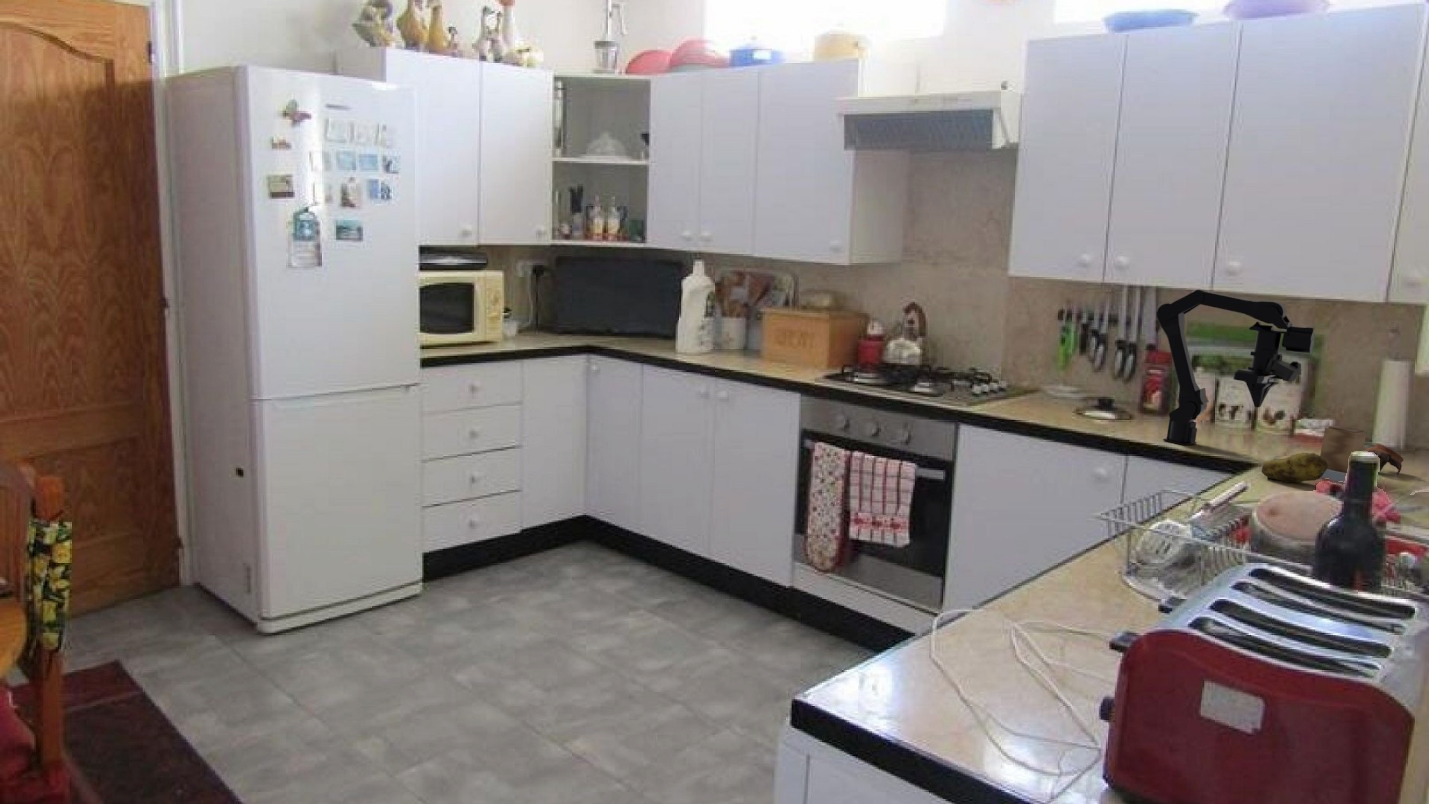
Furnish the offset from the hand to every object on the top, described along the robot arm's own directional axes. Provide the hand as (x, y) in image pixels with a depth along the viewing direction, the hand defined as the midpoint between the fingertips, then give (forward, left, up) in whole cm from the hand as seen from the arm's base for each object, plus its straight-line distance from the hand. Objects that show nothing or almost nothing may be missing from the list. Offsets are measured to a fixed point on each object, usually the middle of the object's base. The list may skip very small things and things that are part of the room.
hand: (1257, 407), depth 273 cm
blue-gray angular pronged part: (+20, -5, -13) cm, 24 cm away
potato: (+22, -23, -13) cm, 34 cm away
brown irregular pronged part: (+25, +15, -13) cm, 32 cm away
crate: (+24, -5, -13) cm, 28 cm away
